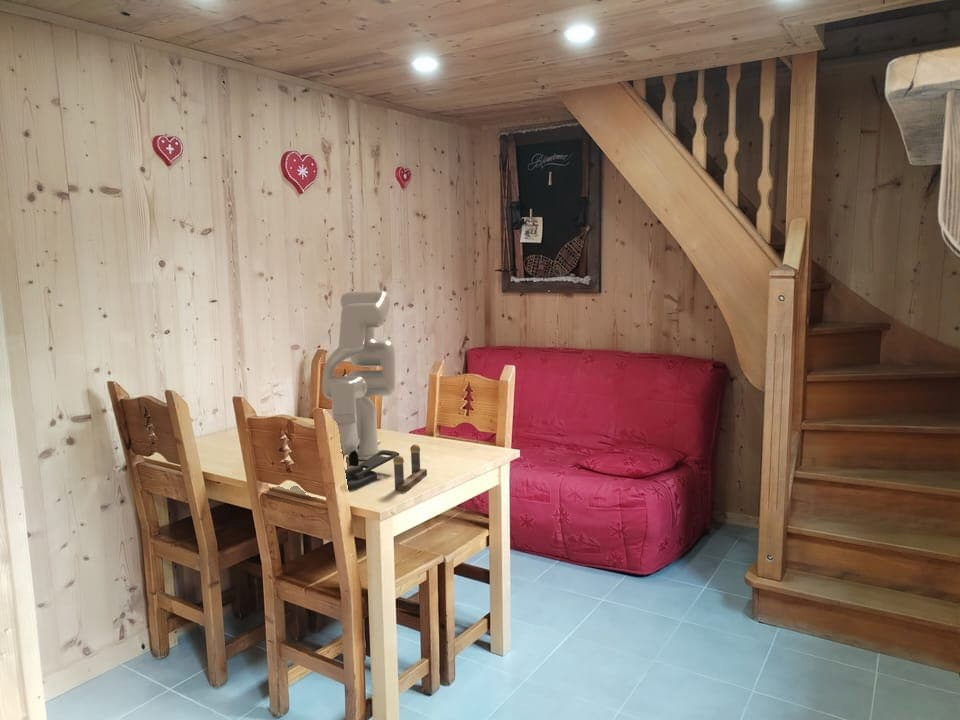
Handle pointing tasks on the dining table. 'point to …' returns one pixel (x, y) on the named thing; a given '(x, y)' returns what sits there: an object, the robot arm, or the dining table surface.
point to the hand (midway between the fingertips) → (347, 470)
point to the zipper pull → (367, 470)
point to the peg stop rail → (416, 474)
